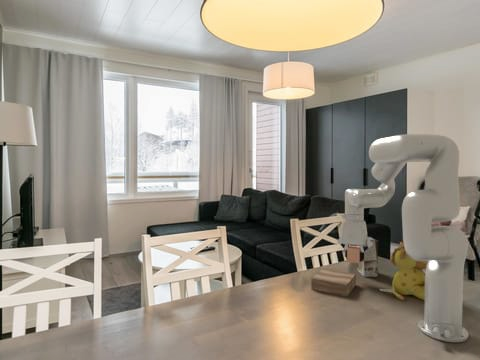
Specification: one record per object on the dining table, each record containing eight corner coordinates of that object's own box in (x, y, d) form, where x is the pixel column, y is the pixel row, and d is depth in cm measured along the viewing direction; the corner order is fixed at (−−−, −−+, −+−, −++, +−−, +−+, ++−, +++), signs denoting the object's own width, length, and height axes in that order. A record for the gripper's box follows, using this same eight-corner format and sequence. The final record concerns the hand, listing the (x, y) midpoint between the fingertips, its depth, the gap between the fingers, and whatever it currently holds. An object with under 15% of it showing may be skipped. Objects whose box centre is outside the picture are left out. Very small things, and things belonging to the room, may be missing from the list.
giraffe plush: (459, 304, 115) (460, 251, 114) (390, 303, 117) (390, 250, 116) (430, 283, 135) (431, 238, 134) (371, 282, 137) (372, 237, 136)
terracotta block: (359, 263, 135) (359, 249, 135) (347, 261, 138) (347, 247, 138) (362, 260, 139) (362, 246, 139) (350, 259, 142) (350, 245, 142)
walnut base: (346, 296, 123) (346, 284, 122) (311, 289, 130) (311, 278, 130) (355, 284, 134) (355, 274, 134) (322, 278, 142) (322, 268, 142)
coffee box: (378, 276, 143) (378, 240, 143) (363, 277, 143) (364, 241, 143) (370, 270, 152) (370, 236, 152) (356, 270, 153) (356, 236, 152)
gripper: (331, 217, 140) (332, 259, 140) (373, 220, 130) (374, 265, 131) (336, 215, 146) (337, 255, 146) (377, 217, 137) (377, 260, 137)
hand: (354, 259), depth 139 cm, fingers closed on terracotta block, 4 cm apart
